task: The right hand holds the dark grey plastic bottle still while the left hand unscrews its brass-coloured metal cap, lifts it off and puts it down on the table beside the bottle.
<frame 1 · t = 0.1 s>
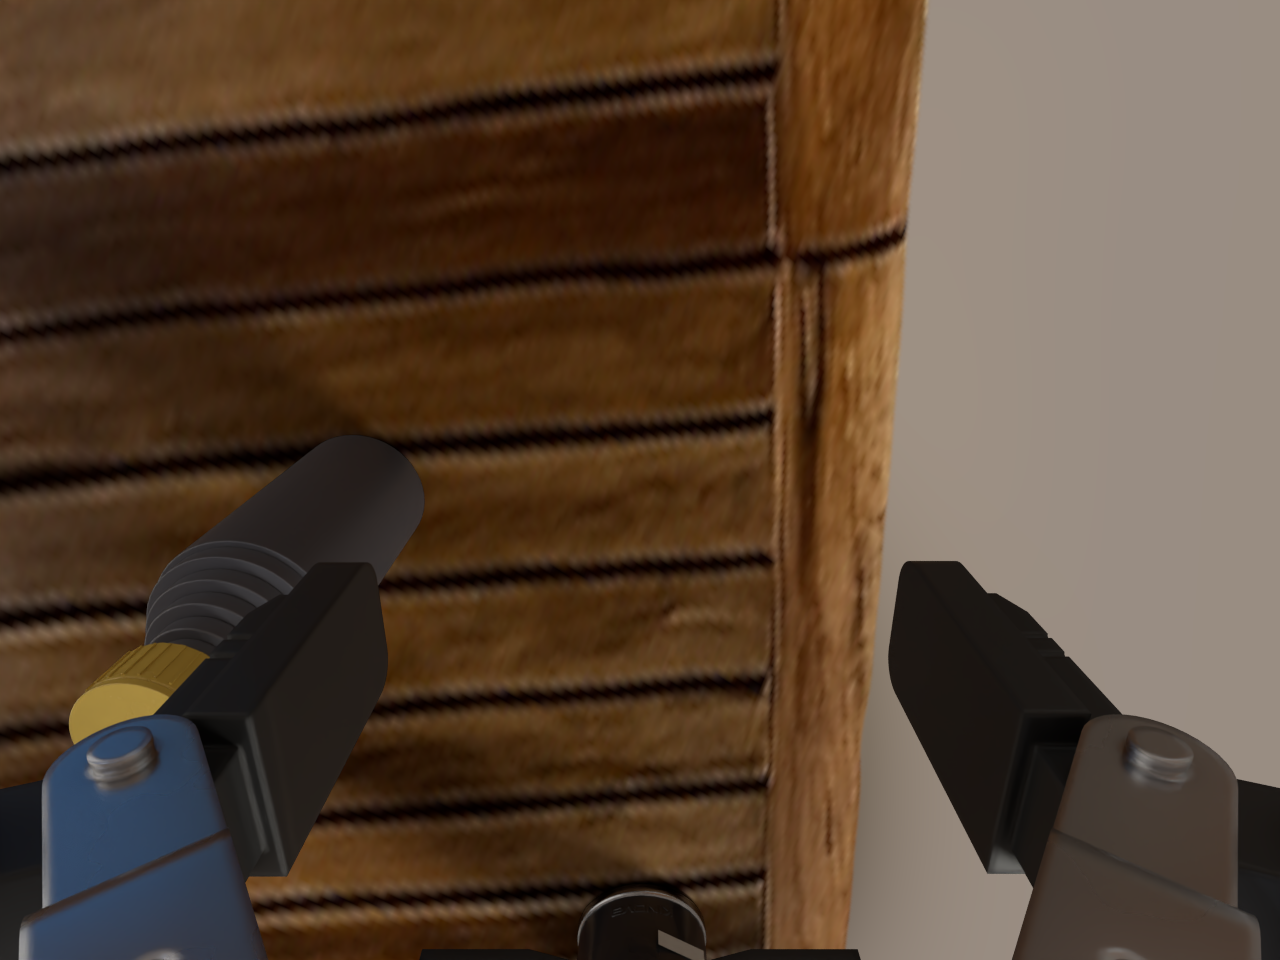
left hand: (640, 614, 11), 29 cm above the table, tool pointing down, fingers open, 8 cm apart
bottle: (361, 494, 42), on the table
cap: (142, 731, 24), point 20 cm above the table, screwed on, not yet turned
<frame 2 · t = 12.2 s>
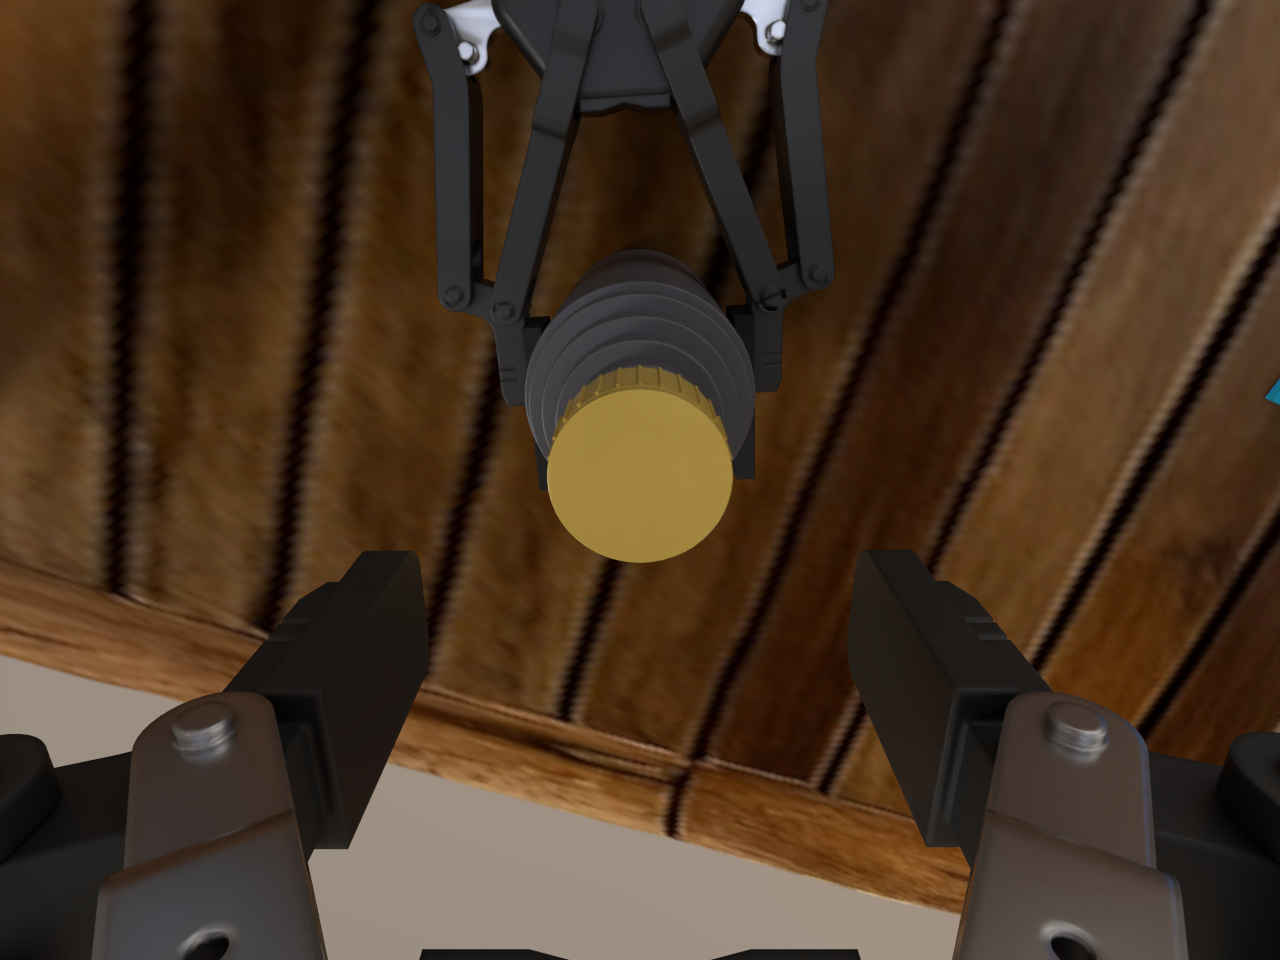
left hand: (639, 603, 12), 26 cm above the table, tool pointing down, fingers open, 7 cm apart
right hand: (646, 471, 31), fingers closed on bottle, 7 cm apart
bottle: (639, 327, 35), on the table, touching right hand
cap: (639, 475, 17), point 20 cm above the table, screwed on, not yet turned
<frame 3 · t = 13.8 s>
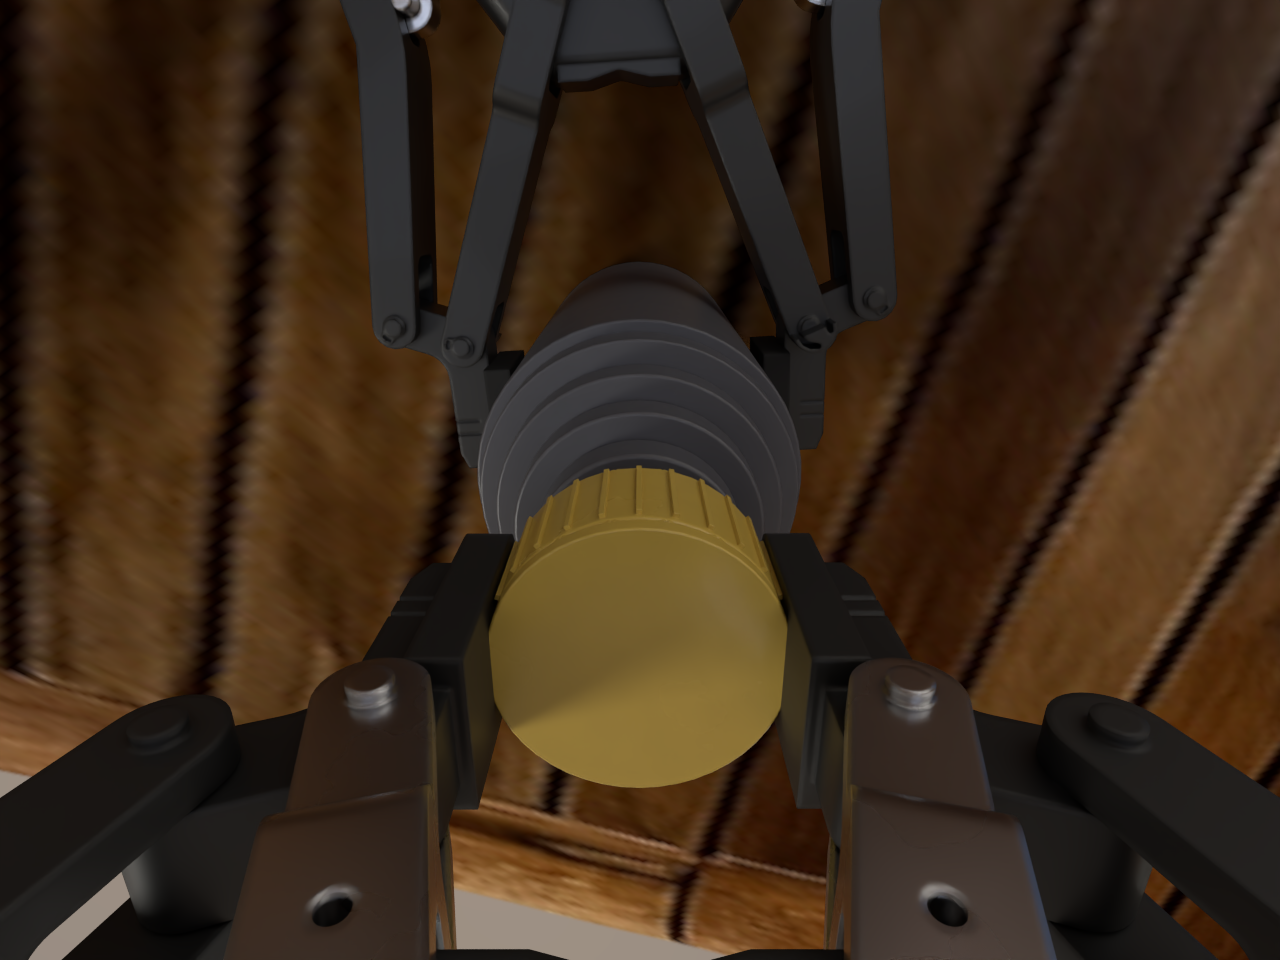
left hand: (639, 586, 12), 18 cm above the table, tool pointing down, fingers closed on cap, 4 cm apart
right hand: (648, 546, 24), fingers closed on bottle, 7 cm apart
bottle: (639, 357, 29), on the table, touching right hand
cap: (639, 655, 10), point 20 cm above the table, screwed on, not yet turned, touching left hand
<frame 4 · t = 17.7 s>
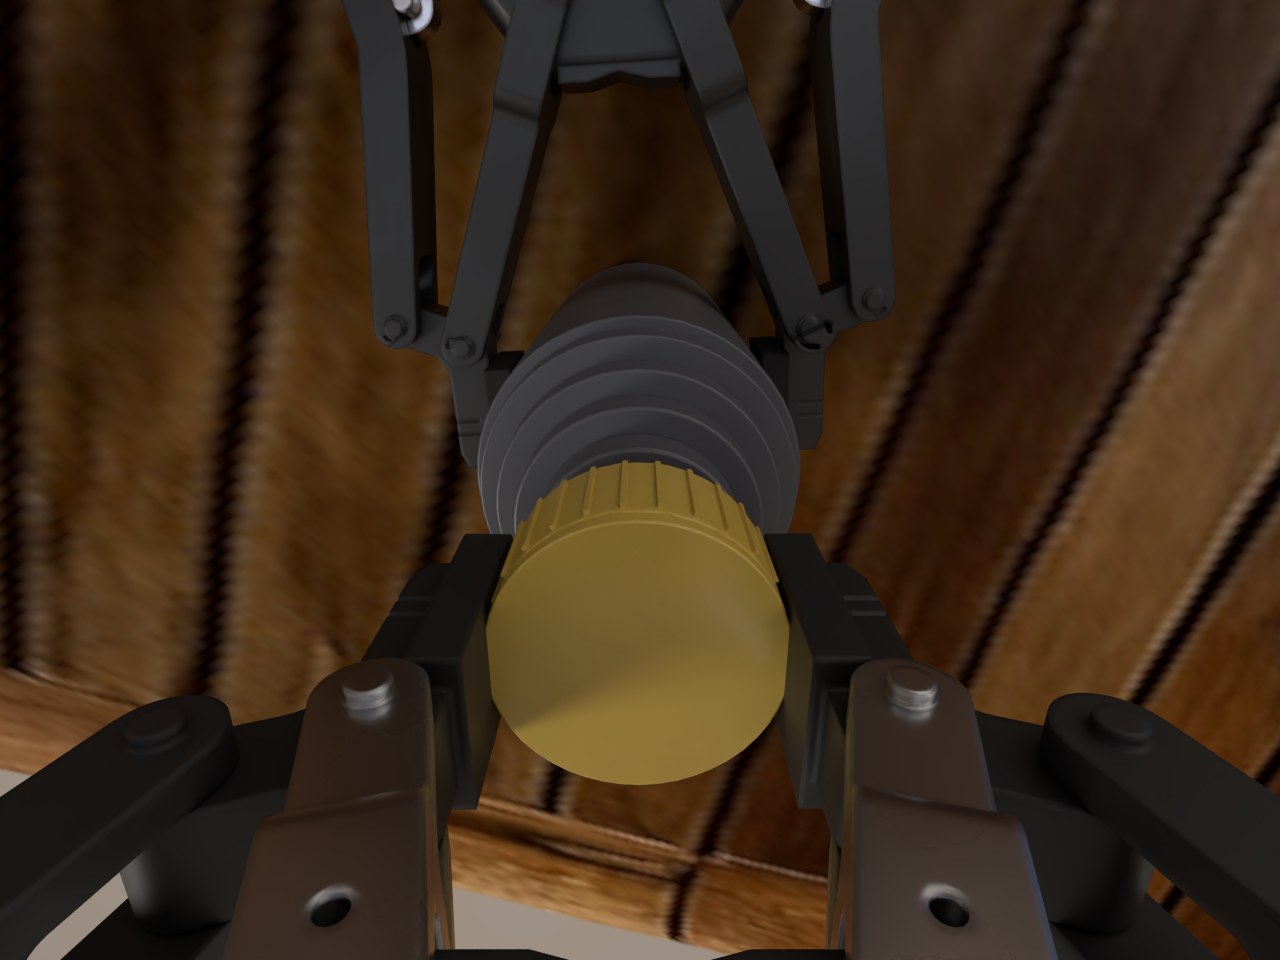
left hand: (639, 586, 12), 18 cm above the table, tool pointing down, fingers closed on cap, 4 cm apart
right hand: (647, 546, 24), fingers closed on bottle, 7 cm apart
bottle: (639, 357, 29), on the table, touching right hand
cap: (637, 650, 10), point 20 cm above the table, turned 98° so far, risen 0.1 cm, still on its thread, touching left hand
when the left hand's fingers open (2 cm above the table, at t = 36.5 s): cap drops 2 cm, point 2 cm above the table.
when the right hand's fingers open (7 cm above the table, at t = 37.6 s): bottle stays where it is, on the table.
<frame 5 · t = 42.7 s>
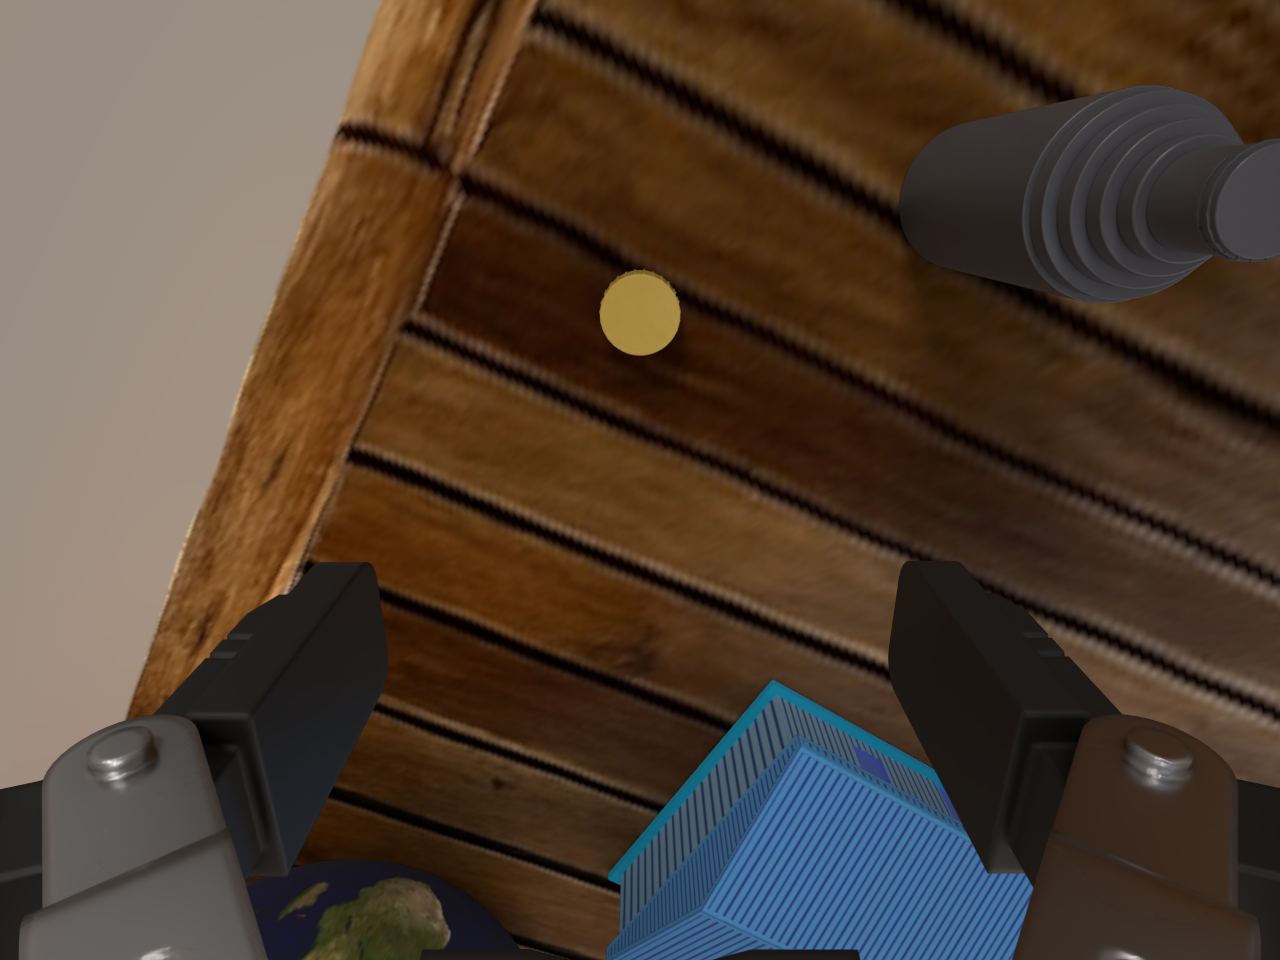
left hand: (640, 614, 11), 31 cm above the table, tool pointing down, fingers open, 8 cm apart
bottle: (968, 197, 38), on the table
model building: (886, 899, 57), on the table
cap: (640, 314, 39), point 2 cm above the table, off its thread
globe: (391, 910, 57), on the table
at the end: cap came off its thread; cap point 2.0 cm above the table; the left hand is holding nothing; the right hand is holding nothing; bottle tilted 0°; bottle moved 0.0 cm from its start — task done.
